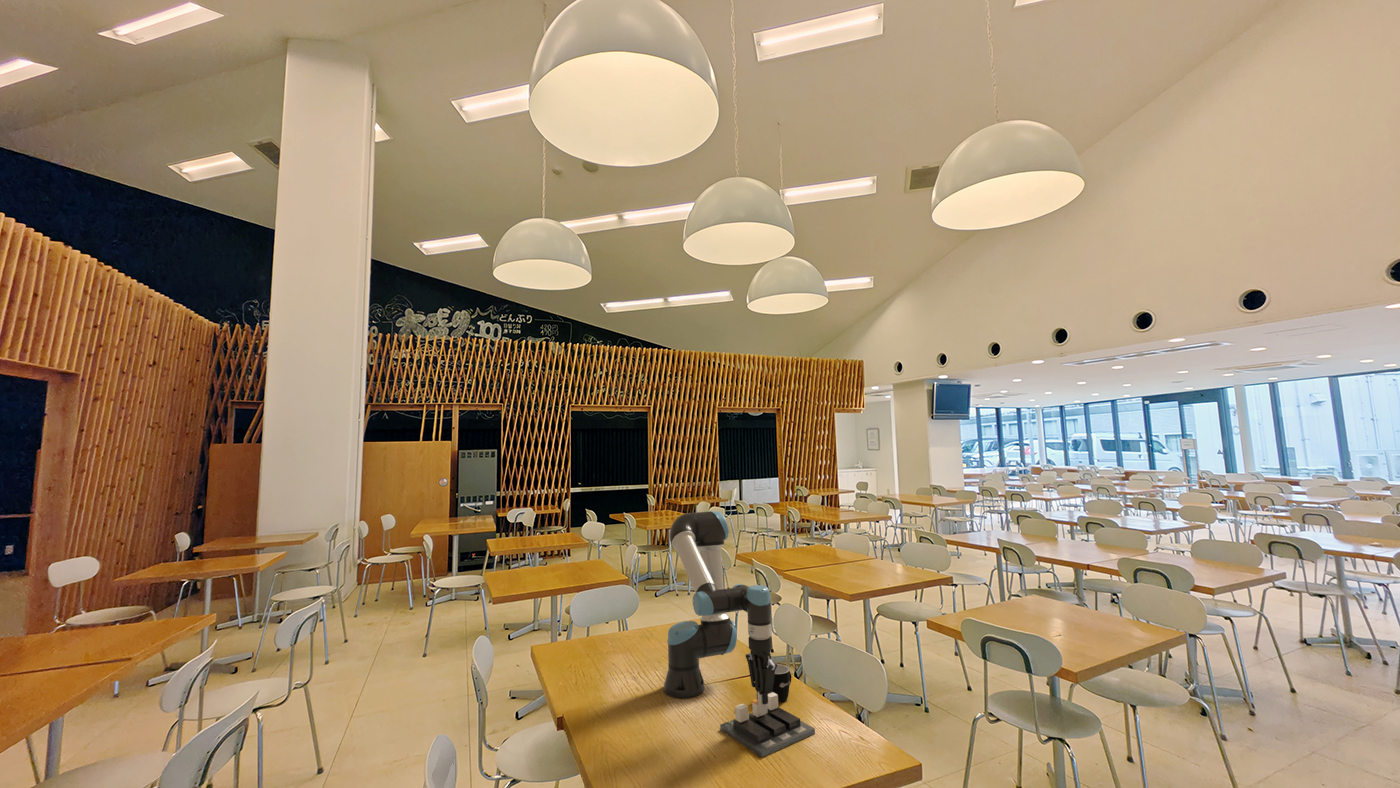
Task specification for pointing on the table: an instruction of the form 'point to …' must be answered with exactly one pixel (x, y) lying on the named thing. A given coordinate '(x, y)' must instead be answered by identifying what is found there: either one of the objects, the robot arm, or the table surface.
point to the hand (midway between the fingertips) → (762, 713)
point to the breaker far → (772, 701)
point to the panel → (770, 749)
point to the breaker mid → (755, 708)
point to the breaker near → (741, 712)
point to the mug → (781, 682)
